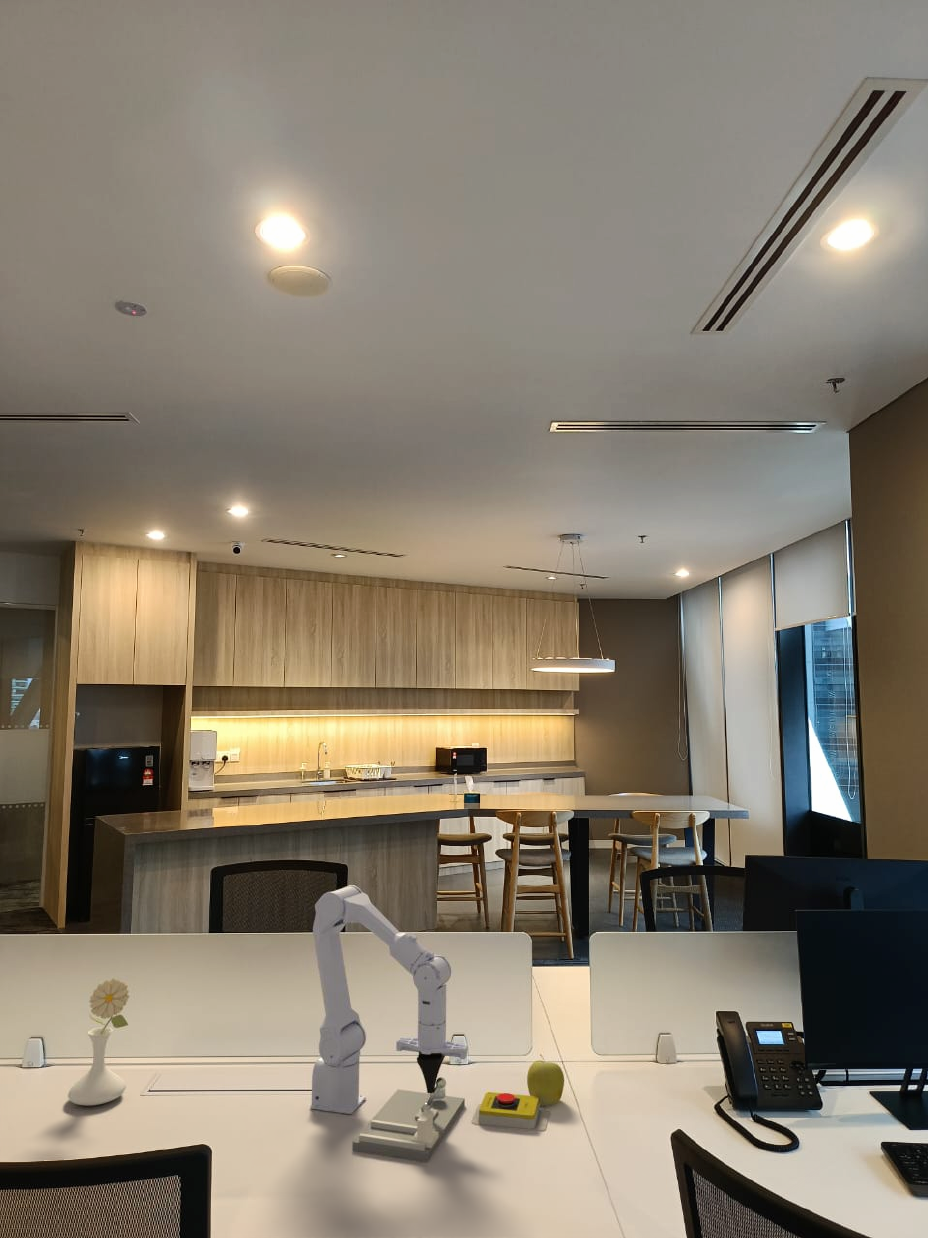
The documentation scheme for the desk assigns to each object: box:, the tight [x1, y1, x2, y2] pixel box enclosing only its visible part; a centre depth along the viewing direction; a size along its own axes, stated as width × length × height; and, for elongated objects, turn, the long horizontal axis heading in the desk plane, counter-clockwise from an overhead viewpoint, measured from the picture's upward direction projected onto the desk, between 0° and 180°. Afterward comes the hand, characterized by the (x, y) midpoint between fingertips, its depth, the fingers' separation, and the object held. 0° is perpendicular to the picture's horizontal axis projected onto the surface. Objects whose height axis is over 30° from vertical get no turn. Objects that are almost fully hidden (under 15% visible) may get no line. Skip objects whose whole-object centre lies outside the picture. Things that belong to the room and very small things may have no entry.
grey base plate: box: [351, 1088, 466, 1163], centre depth 171 cm, size 15×24×2 cm, turn 164°
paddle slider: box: [411, 1110, 439, 1148], centre depth 162 cm, size 4×4×5 cm
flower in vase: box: [67, 978, 130, 1106], centre depth 184 cm, size 13×11×25 cm
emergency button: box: [471, 1091, 550, 1132], centre depth 175 cm, size 9×4×15 cm
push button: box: [429, 1084, 446, 1099], centre depth 179 cm, size 3×3×2 cm
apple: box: [526, 1054, 565, 1107], centre depth 183 cm, size 8×8×10 cm
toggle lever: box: [421, 1076, 447, 1113], centre depth 172 cm, size 2×2×8 cm
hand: (431, 1091), depth 172 cm, fingers closed
